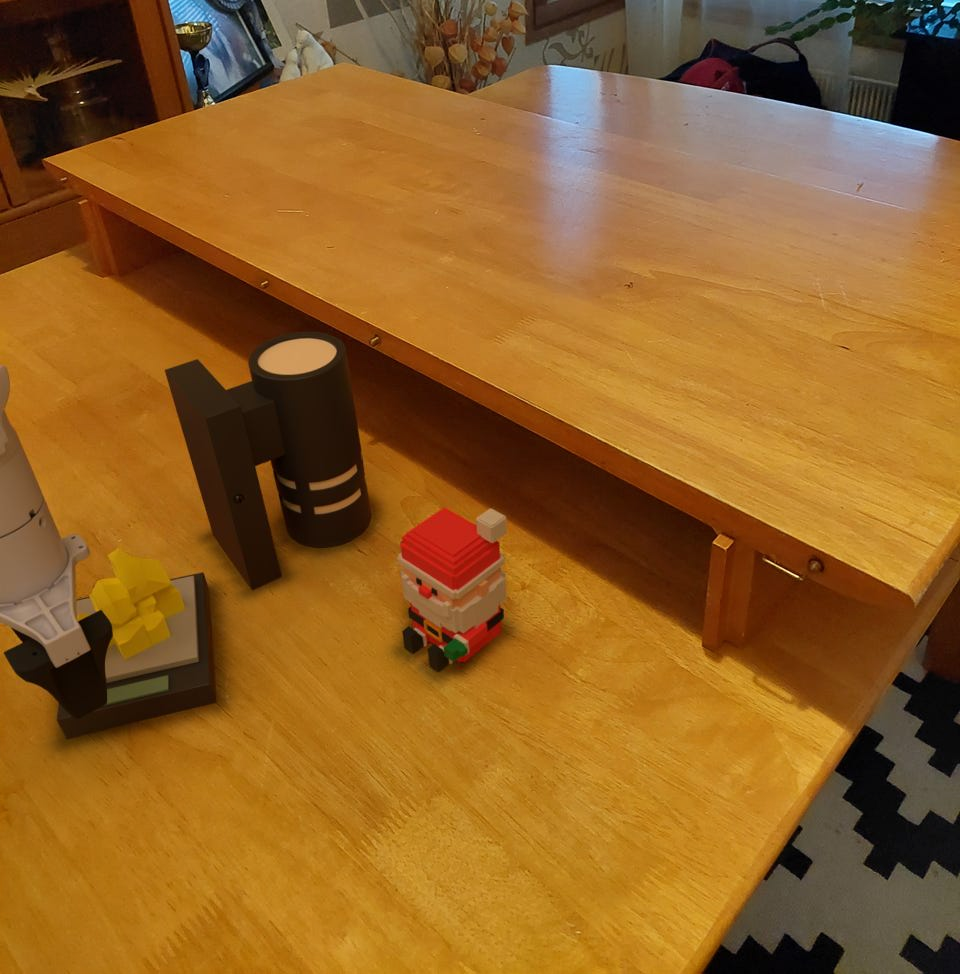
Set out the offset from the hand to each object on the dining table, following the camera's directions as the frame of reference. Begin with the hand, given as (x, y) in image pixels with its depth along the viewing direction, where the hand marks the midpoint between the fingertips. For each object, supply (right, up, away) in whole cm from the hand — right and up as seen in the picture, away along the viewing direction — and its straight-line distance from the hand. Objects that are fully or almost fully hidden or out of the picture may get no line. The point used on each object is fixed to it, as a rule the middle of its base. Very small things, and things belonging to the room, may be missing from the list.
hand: (67, 674), depth 60 cm
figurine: (+25, 0, +15) cm, 29 cm away
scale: (0, -1, +15) cm, 15 cm away
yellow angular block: (-1, +1, +13) cm, 13 cm away
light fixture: (+10, +8, +26) cm, 29 cm away
